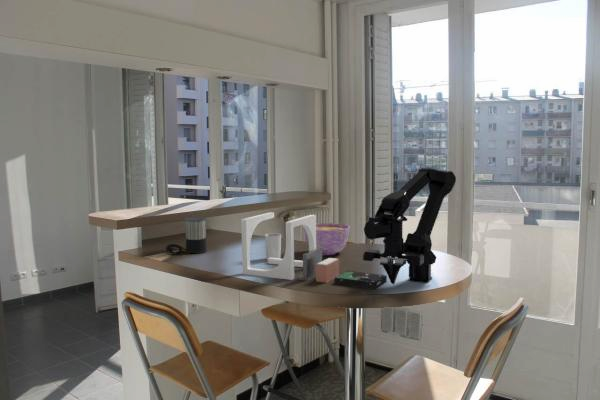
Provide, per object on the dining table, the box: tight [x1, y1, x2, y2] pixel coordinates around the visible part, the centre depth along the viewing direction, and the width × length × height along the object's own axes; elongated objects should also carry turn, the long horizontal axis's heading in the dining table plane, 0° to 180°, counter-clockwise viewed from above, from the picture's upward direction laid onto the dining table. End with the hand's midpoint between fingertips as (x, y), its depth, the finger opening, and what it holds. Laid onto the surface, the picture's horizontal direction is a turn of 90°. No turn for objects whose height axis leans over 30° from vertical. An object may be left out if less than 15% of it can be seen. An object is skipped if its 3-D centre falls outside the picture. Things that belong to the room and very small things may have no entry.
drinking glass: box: [264, 232, 282, 261], centre depth 206 cm, size 7×7×10 cm
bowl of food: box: [302, 222, 351, 256], centre depth 216 cm, size 20×20×12 cm
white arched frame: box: [240, 211, 317, 281], centre depth 187 cm, size 20×20×20 cm
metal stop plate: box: [297, 248, 323, 282], centre depth 178 cm, size 4×12×9 cm, turn 152°
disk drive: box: [333, 270, 388, 290], centre depth 170 cm, size 10×3×15 cm
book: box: [315, 257, 340, 284], centre depth 175 cm, size 4×10×6 cm, turn 152°
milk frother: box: [165, 216, 208, 255], centre depth 221 cm, size 14×16×15 cm
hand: (392, 283), depth 164 cm, fingers closed
